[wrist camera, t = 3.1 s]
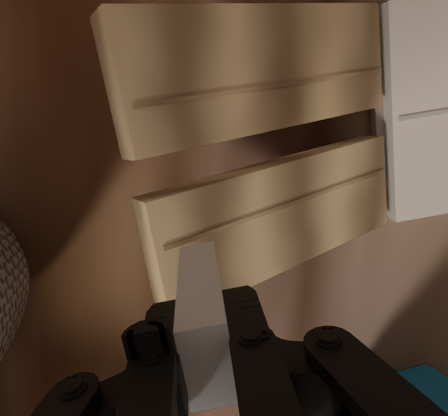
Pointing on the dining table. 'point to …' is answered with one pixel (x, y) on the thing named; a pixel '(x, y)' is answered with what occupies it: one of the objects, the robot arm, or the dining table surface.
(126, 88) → the plank
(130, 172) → the dining table surface
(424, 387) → the block
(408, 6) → the floor board
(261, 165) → the plank
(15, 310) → the planter
